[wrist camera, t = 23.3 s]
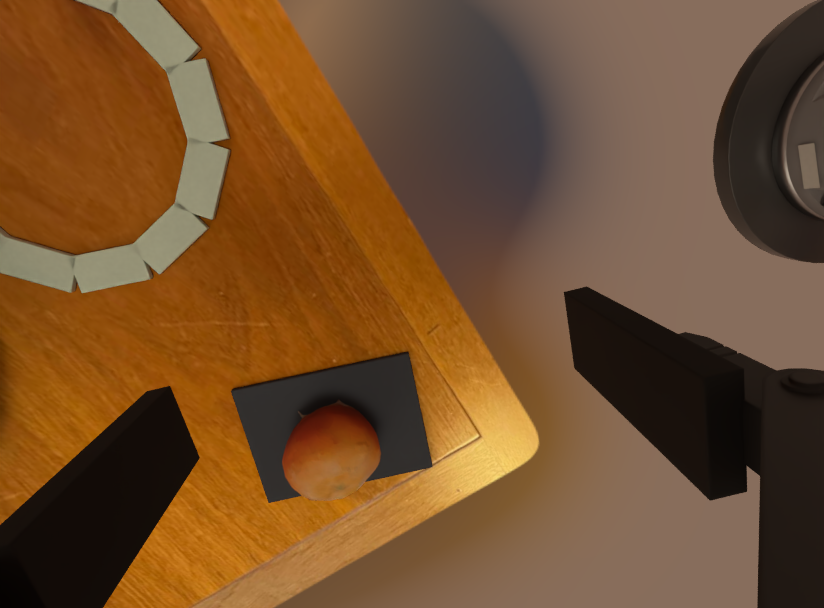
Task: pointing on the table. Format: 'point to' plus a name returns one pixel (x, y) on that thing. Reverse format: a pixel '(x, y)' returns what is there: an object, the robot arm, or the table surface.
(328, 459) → the fruit
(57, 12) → the table surface
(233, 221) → the table surface
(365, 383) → the mat
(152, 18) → the segmented grey ring
